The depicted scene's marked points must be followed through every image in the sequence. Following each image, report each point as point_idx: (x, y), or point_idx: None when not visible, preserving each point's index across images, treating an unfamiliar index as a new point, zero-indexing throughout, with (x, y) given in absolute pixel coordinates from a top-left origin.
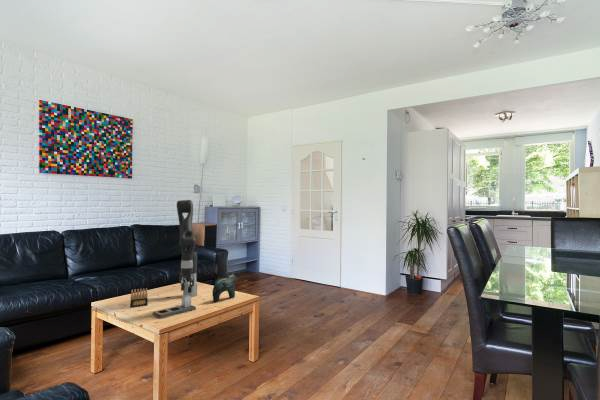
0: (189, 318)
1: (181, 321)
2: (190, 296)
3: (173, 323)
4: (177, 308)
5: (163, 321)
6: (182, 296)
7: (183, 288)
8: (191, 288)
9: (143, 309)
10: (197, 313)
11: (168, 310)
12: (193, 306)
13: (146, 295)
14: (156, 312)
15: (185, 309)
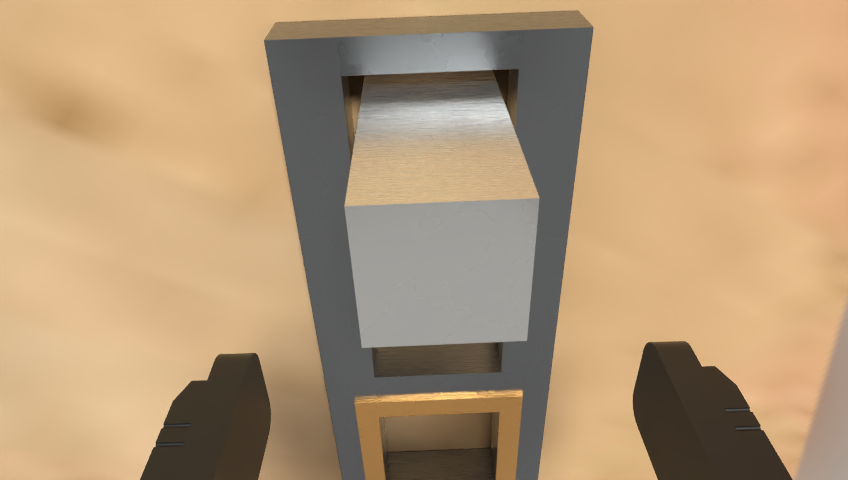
0: (823, 279)
1: (808, 374)
2: (536, 215)
3: (775, 437)
4: None
5: (634, 468)
6: (397, 340)
7: (246, 425)
8: (778, 465)
9: (73, 467)
10: (770, 98)
11: (447, 405)
12: (541, 54)
13: None
14: None
15: (567, 229)
